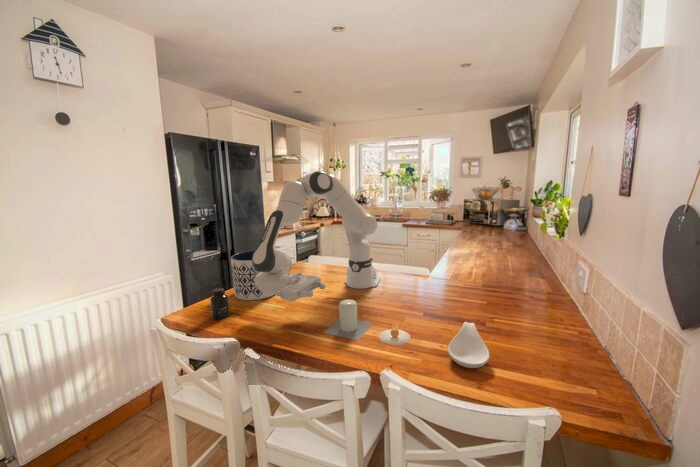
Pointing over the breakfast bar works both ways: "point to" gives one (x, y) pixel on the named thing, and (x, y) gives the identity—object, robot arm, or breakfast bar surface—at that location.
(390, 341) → the coaster
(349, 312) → the grey rounded cylinder
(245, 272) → the planter
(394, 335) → the ball
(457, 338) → the spoon rest
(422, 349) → the breakfast bar surface
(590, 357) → the breakfast bar surface
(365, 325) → the felt mat
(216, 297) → the supplement bottle
